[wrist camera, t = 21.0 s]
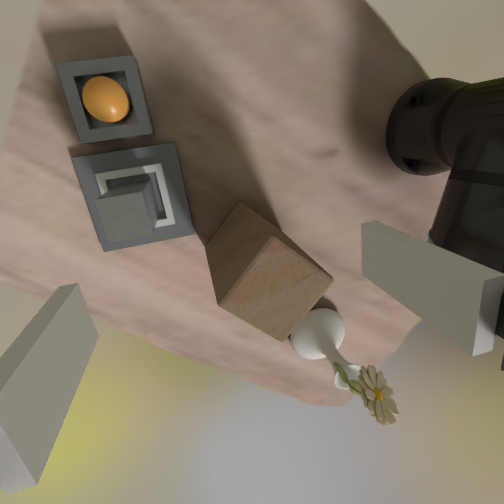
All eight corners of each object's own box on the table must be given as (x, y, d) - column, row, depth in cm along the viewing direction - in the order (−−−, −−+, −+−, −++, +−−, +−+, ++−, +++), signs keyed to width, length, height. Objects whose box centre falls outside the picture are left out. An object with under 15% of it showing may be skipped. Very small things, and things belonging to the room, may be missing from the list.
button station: (137, 62, 41) (133, 55, 38) (154, 133, 45) (152, 133, 41) (66, 70, 40) (55, 63, 36) (89, 143, 43) (81, 143, 40)
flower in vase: (348, 333, 65) (440, 440, 42) (301, 362, 65) (368, 483, 42) (325, 287, 60) (415, 379, 37) (274, 317, 60) (333, 429, 37)
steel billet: (151, 179, 45) (141, 191, 34) (159, 212, 47) (153, 234, 36) (115, 185, 45) (94, 199, 34) (125, 218, 47) (108, 242, 36)
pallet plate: (174, 142, 46) (174, 142, 44) (194, 232, 51) (194, 235, 49) (74, 157, 44) (69, 158, 41) (105, 249, 49) (102, 254, 47)
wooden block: (203, 247, 52) (216, 306, 34) (239, 199, 51) (272, 233, 32) (249, 277, 56) (283, 344, 37) (283, 232, 54) (337, 280, 36)
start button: (124, 78, 40) (120, 73, 37) (134, 120, 42) (131, 118, 39) (83, 83, 39) (76, 78, 36) (96, 125, 41) (90, 124, 38)
